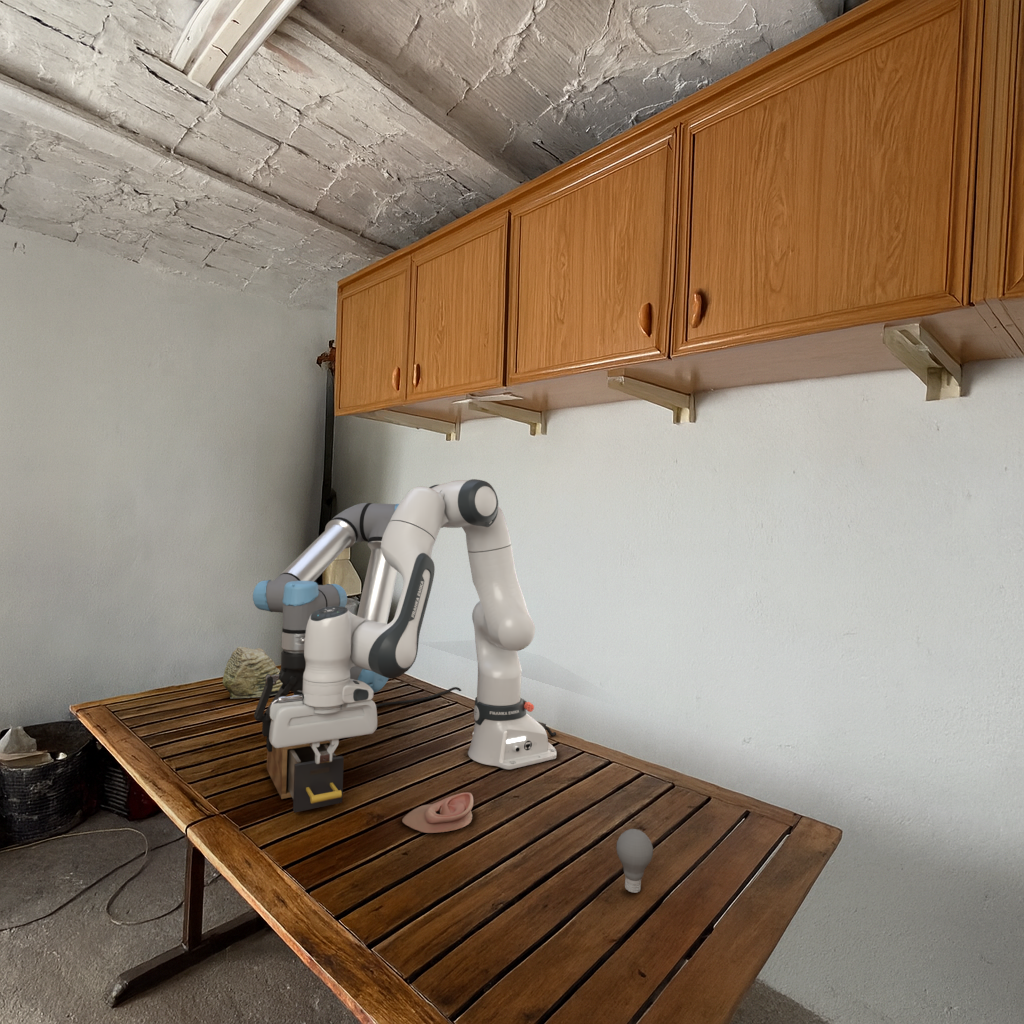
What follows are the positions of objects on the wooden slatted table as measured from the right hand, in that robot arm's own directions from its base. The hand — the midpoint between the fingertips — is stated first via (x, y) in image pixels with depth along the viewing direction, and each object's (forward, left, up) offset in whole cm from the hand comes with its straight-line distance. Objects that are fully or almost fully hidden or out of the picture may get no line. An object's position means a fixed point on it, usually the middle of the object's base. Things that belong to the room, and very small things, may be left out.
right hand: (323, 762), depth 123 cm
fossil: (+11, -86, -12) cm, 87 cm away
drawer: (+1, -8, -10) cm, 13 cm away
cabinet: (+3, -20, -12) cm, 23 cm away
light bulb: (-46, +39, -12) cm, 61 cm away
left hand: (+3, -25, -6) cm, 25 cm away
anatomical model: (-22, +6, -12) cm, 26 cm away
